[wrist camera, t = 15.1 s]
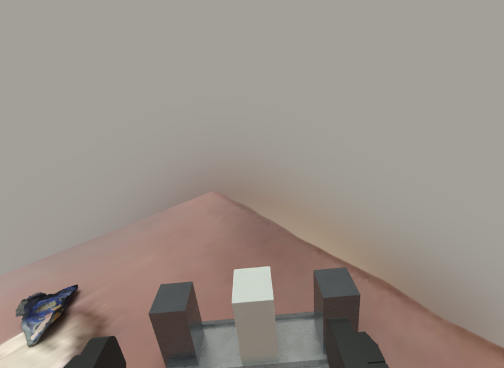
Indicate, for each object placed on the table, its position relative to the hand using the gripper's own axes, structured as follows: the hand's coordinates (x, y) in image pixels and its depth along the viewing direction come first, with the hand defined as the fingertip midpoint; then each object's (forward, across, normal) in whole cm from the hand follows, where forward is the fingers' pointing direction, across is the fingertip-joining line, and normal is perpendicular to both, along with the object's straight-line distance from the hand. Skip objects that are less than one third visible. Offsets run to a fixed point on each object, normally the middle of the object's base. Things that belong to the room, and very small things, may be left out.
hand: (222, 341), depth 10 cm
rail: (+20, 0, +29) cm, 35 cm away
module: (+20, 0, +27) cm, 33 cm away
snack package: (+31, +40, +30) cm, 59 cm away
